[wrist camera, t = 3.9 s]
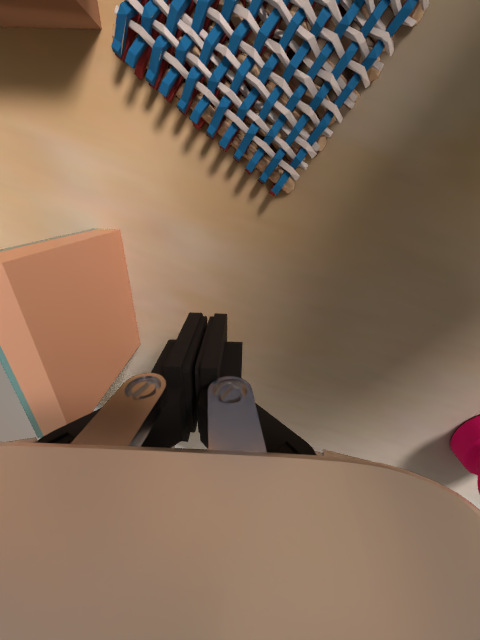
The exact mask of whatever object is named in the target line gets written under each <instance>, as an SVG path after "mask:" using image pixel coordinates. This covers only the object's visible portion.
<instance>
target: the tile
mask: <svg viewBox="0 0 480 640" xmlns="http://www.w3.org/2000/svg"><path fill="white" fill-rule="evenodd" d="M139 345H140V338H139V333H138V327H137V322H136V316H135V310H134V305H133V299H132V293H131V288H130V282H129V276H128V271H127V265H126V259H125V254H124V248H123V242H122V237H121V231H120V230H116V229H90V230H85V231H81V232H76V233H72V234H68V235H63V236H59V237H54V238H50V239H45V240H41V241H36V242H32V243H28V244H23V245H19V246H14V247H10V248H5V249H1V250H0V362H1V364H2V366H3V368H4V370H5V372H6V374H7V376H8V378H9V380H10V382H11V384H12V386H13V388H14V390H15V392H16V394H17V396H18V398H19V400H20V402H21V404H22V406H23V408H24V410H25V412H26V414H27V416H28V419H29V420H30V423H31V424H32V426H33V428H34V431H35V432H36V435H37V437H40V438H42V437H43V436H45V435H47V434H49V433H50V432H52V431H54V430H56V429H58V428H60V427H62V426H65V425H67V424H69V423H71V422H73V421H75V420H77V419H79V418H81V417H83V416H85V415H88V414H90V413H92V412H93V410H94V409H95V407H96V406H97V405H98V403H99V402H100V400H101V399H102V397H103V396H104V395H105V393H106V392H107V390H108V389H109V388H110V386H111V385H112V383H113V382H114V381H115V379H116V378H117V376H118V375H119V374H120V372H121V371H122V369H123V368H124V367H125V365H126V364H127V362H128V361H129V360H130V358H131V357H132V355H133V354H134V353H135V351H136V350H137V348H138V347H139Z"/></svg>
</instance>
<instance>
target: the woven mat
mask: <svg viewBox="0 0 480 640" xmlns="http://www.w3.org/2000/svg"><path fill="white" fill-rule="evenodd" d="M246 2H248V3H249V8H248V9H246V8H245V5H246ZM291 4H294V5H296V6H298V7H299V9H298V11H297V12H294V11H292V10H289V8H290V6H291ZM340 4H341V5H342V7H343V8H344V9H345V10H346V11H347V12H346V14H345V15H344V17H343V18H342V16H341V13H340V11H339V8H338V7H339V6H340ZM195 5H196V9H195V8H194V7H195ZM388 5H389V6H390V7H391V9H392V10H393V13H394V17H393V19H392V20H391V22H390V23H389V24H388V26H387V27H386V26H385V25H384V24H383V22H382V20H381V19H380V17H381V15H382V14H383V13H384V11H385V10H386V8H387V7H388ZM428 6H429V0H380V2H379V3H378V5H377V6H376V8H375V5H374V1H373V0H125V1H124V2H122V3H121V4H120V7H118V6H117V5H116V7H115V11H114V12H115V14H116V15H117V18H116V24H114V26H113V33H112V37H113V38H114V40H113V43H112V49H113V52H115V55H116V56H117V57H118V58H119V59H120V60H122V61H123V62H126V63H127V64H129V65H130V66H131V67H132V68H135V72H134V74H135V75H136V76H137V77H138V78H140V79H141V80H142V78H143V75H144V72H145V69H147V70H148V71H147V73H146V76H145V77H146V81H148V82H149V85H150V86H151V87H153V88H154V89H155V90H156V91H157V89H158V87H159V85H160V82H161V85H160V87H159V90H158V91H159V92H160V93H161V94H163V96H164V98H165V99H166V100H167V101H168V102H170V103H171V102H172V100H173V98H174V96H175V95H176V96H177V97H178V98H179V99H180V100H179V102H178V104H177V108H178V109H179V111H181V112H182V113H183V114H184V115H185V116H186V115H187V113H188V111H189V109H192V110H193V112H192V114H191V116H190V119H191V120H192V121H193V122H194V126H195V127H196V128H197V129H198V130H200V129H201V127H202V126H203V125H204V123H205V122H207V123H208V124H209V127H208V129H207V132H206V133H207V136H208V137H210V138H211V139H212V140H213V139H214V137H215V136H216V134H217V133H219V134H220V135H221V136H222V139H221V140H220V142H219V145H220V147H221V148H222V149H223V150H224V151H225V152H226V151H227V150H228V148H229V146H230V145H232V146H233V147H234V148H235V149H236V150H237V151H236V152H235V154H234V156H233V158H234V159H235V160H236V161H237V162H238V163H239V161H240V160H241V158H242V157H243V156H244V157H245V158H246V159H248V160H249V163H248V164H247V166H246V167H245V168H246V169H245V170H246V171H247V172H248V173H249V174H251V173H252V171H253V170H254V169H255V167H256V168H258V169H259V170H260V171H261V172H262V175H261V176H260V178H259V179H258V181H259V182H260V183H262V184H264V183H265V182H266V181H267V179H268V178H269V179H270V180H271V181H273V182H274V185H273V186H272V188H271V190H270V191H269V193H270V194H271V195H272V196H274V195H275V194H276V195H277V194H278V193H279V191H280V190H281V189H283V190H284V191H285V192H286V193H287V194H288V193H290V192H291V191H292V190H294V181H293V180H292V179H291V178H290V176H291V175H292V177H293V178H294V179H295V181H296V180H297V179H298V178H299V177H300V176H299V175H298V173H297V172H296V171H295V169H296V168H297V167H301V168H303V169H304V170H305V171H306V169H307V167H308V166H309V165H308V164H307V163H305V162H304V161H305V160H306V158H305V156H306V154H307V153H309V155H310V156H311V158H312V159H313V158H314V157H315V156H316V155H317V153H316V152H317V151H322V150H323V148H324V147H325V145H326V136H327V137H328V138H330V137H331V136H332V134H333V131H331V130H330V129H328V128H327V126H328V125H332V124H333V123H334V122H335V121H336V120H337V122H338V123H341V121H342V119H343V117H342V115H341V113H340V111H339V108H340V107H341V106H342V104H343V103H344V104H346V105H347V106H348V107H349V108H350V109H352V108H353V107H354V105H355V103H356V102H357V100H358V99H359V97H360V96H361V95H360V94H359V93H358V92H357V91H356V90H355V89H354V88H355V87H356V85H357V84H358V82H359V81H360V80H362V82H363V85H364V87H365V88H367V87H368V86H369V85H370V82H371V81H373V80H375V79H376V78H378V77H379V74H380V71H381V70H382V68H383V67H384V64H383V63H381V62H380V57H379V55H380V54H381V52H382V51H383V52H385V51H387V54H388V55H389V56H390V57H391V55H392V53H393V51H394V47H393V46H394V45H395V44H394V42H393V40H394V38H393V35H394V33H395V32H396V31H397V30H398V28H399V27H400V26H401V25H402V24H403V25H407V26H411V27H412V26H413V25H417V23H418V22H419V21H420V19H421V18H422V16H423V15H424V12H425V10H426V9H427V7H428ZM166 17H167V22H165V20H166ZM259 18H260V19H261V20H262V22H263V25H262V27H261V28H259V26H258V24H257V22H258V20H259ZM212 20H213V21H215V22H216V24H215V26H214V27H212V26H211V25H210V23H211V21H212ZM307 20H308V21H309V23H310V25H311V27H312V29H311V30H310V31H309V29H308V27H307V25H306V22H307ZM354 20H355V22H356V23H357V24H358V25H359V26H360V27H361V30H360V31H358V30H356V29H354V28H352V27H350V25H351V24H352V22H353V21H354ZM140 25H141V26H140ZM234 29H235V30H234ZM183 32H185V33H186V34H185V35H184V36H183V37H182V34H183ZM137 33H138V34H139V35H138V36H137V38H136V37H135V36H136V34H137ZM368 35H369V36H370V37H371V38H372V39H373V41H374V42H375V44H374V45H373V46H372V47H369V46H367V43H366V40H365V38H366V37H367V36H368ZM319 36H320V37H321V38H323V39H325V40H327V43H326V45H325V46H324V48H323V49H322V51H321V50H320V49H319V46H318V44H317V41H316V40H317V39H318V37H319ZM228 37H229V39H230V41H229V43H228V42H227V41H226V40H227V38H228ZM272 38H276V39H281V40H280V42H279V43H277V42H275V41H273V40H271V39H272ZM290 48H291V49H292V50H293V51H294V52H295V55H294V56H293V58H292V59H291V61H290V60H289V59H288V57H287V55H286V53H287V52H288V51H289V49H290ZM334 49H335V51H336V53H337V55H338V57H339V59H340V60H339V62H338V63H337V65H336V66H334V65H333V64H332V63H331V61H330V60H329V59H328V58H329V57H330V55H331V54H332V52H333V51H334ZM201 50H202V51H201ZM241 51H243V52H244V53H246V54H247V55H248V56H245V55H243V54H242V53H241ZM174 53H175V57H173V54H174ZM217 56H218V57H219V58H220V59H221V60H222V61H221V60H220V59H219V58H218V57H217ZM263 61H264V62H265V63H264V62H263ZM302 62H304V63H305V64H306V65H307V66H308V67H309V71H308V73H307V74H304V73H303V72H301V71H299V70H298V69H299V67H300V65H301V64H302ZM169 63H170V64H171V65H172V67H171V68H170V69H169V68H168V65H169ZM213 63H214V64H215V65H216V66H217V68H216V69H214V68H213V67H212V65H213ZM257 66H258V67H259V68H260V70H261V71H260V70H259V68H258V67H257ZM346 67H348V68H349V69H351V70H353V71H354V72H353V74H352V75H351V77H350V78H349V80H348V81H347V80H346V78H345V77H344V76H343V75H342V72H343V71H344V69H345V68H346ZM231 70H232V71H233V72H234V73H235V74H234V73H233V72H232V71H231ZM274 72H275V73H276V74H275V73H274ZM316 76H318V77H320V78H322V79H323V80H324V81H325V82H324V83H323V85H322V86H321V87H320V86H318V85H315V84H314V83H313V81H314V79H315V78H316ZM184 78H185V79H186V82H185V83H184V82H183V80H184ZM227 78H228V79H229V80H230V81H231V82H232V84H231V85H230V84H229V83H228V82H227V81H226V80H227ZM269 80H270V81H272V82H273V83H275V84H276V87H275V88H274V89H273V88H272V87H271V86H270V85H269V84H268V82H269ZM203 82H205V83H206V84H207V87H205V86H204V85H203ZM248 84H249V86H250V88H251V89H252V90H251V92H249V91H248V89H247V85H248ZM330 89H332V90H333V91H334V92H335V94H336V95H337V97H336V99H335V100H334V102H333V103H332V102H330V99H329V97H328V96H327V93H328V92H329V91H330ZM291 90H292V91H293V92H294V93H293V92H292V91H291ZM199 91H200V92H201V93H203V94H204V95H203V96H201V95H199V94H198V92H199ZM283 92H285V94H286V96H287V97H288V99H289V101H288V102H286V101H285V100H284V99H283V98H282V97H281V95H282V94H283ZM241 94H243V95H244V96H245V98H244V97H243V96H241ZM218 95H219V96H220V97H221V98H222V99H221V101H219V100H218V99H217V98H218ZM258 98H260V99H261V100H262V101H263V102H264V104H263V103H261V102H259V101H257V100H258ZM300 100H301V101H300ZM303 102H305V103H307V104H309V106H308V105H307V104H305V103H303ZM214 107H216V108H217V109H216V110H215V109H214ZM232 108H233V109H234V110H235V111H236V112H237V113H236V115H235V114H234V113H232V112H231V111H230V110H231V109H232ZM255 108H256V109H258V110H260V113H259V112H258V111H257V110H256V109H255ZM295 108H298V109H299V110H301V111H302V112H304V113H303V114H302V116H300V115H299V114H298V113H297V112H296V111H295V110H294V109H295ZM272 110H273V111H274V112H275V113H276V114H277V115H278V116H279V117H278V116H277V115H276V114H274V113H273V112H272ZM315 111H316V112H317V114H318V115H319V117H320V119H321V120H319V119H318V117H317V116H316V114H315V113H314V112H315ZM226 117H228V118H229V119H230V120H232V121H233V122H232V124H231V125H230V124H229V123H228V122H226V121H225V119H226ZM267 117H268V118H269V119H270V120H271V121H270V120H269V119H267ZM309 119H311V120H312V122H313V124H314V126H315V128H314V129H313V128H312V127H311V126H310V125H309V124H308V123H307V122H308V120H309ZM245 121H247V122H248V123H249V124H250V127H249V128H248V127H247V126H246V125H245V124H244V122H245ZM285 123H286V124H287V125H288V126H289V127H290V128H291V129H292V130H291V129H290V128H289V127H288V126H287V125H286V124H285ZM240 129H241V130H242V131H243V132H244V133H245V136H244V137H243V136H242V135H241V134H240V133H238V132H239V130H240ZM282 131H283V132H285V133H286V134H287V135H288V136H287V137H286V136H285V134H284V133H283V132H282ZM257 133H259V134H260V135H262V136H264V137H265V138H264V140H261V139H260V138H258V137H257V136H256V135H257ZM323 134H324V135H323ZM252 141H253V142H255V143H256V144H257V145H259V148H258V149H256V148H255V147H254V146H253V145H252V144H251V142H252ZM294 141H295V142H296V143H298V144H299V145H300V146H301V147H300V149H299V150H298V149H297V148H296V147H295V146H294V145H293V144H292V143H293V142H294ZM271 144H273V146H274V147H275V148H276V150H278V151H277V152H276V154H275V153H274V151H273V150H272V149H271V148H270V145H271ZM313 149H314V150H315V151H316V152H315V151H314V150H313ZM265 153H267V154H268V155H269V156H270V157H271V158H272V160H271V161H269V160H268V159H267V158H266V157H265V156H264V154H265ZM283 156H285V157H286V158H287V159H288V160H289V161H290V163H289V164H287V163H286V162H285V161H283V160H282V158H283ZM277 165H280V166H281V167H282V168H284V169H285V170H284V171H283V170H282V169H280V168H279V167H277Z"/></svg>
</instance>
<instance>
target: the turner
mask: <svg viewBox="0 0 480 640" xmlns="http://www.w3.org/2000/svg"><path fill="white" fill-rule="evenodd" d="M0 26H8V27H41V28H75V29H102V28H101V21H100V15H99V8H98V2H97V0H0Z"/></svg>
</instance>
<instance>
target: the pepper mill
mask: <svg viewBox="0 0 480 640" xmlns="http://www.w3.org/2000/svg"><path fill="white" fill-rule="evenodd" d="M450 445H451V450H452V451H453V453H454V454H455V455H456V457H457V458H458V459H459V460H460V462H461V463H462V464H463V465H464V467H465V468H466V469H467V470H468V471H469V472H471V473H473V474H476V475H478V490H479V493H480V415H479V416H476V417H474V418H472V419H470V420H468V421H467V422H465V423H464V424H463V425H461V426H460V427H459V428H458V429H457V430H456V432H455V433H454V434H453V436H452V439H451V441H450Z"/></svg>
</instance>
